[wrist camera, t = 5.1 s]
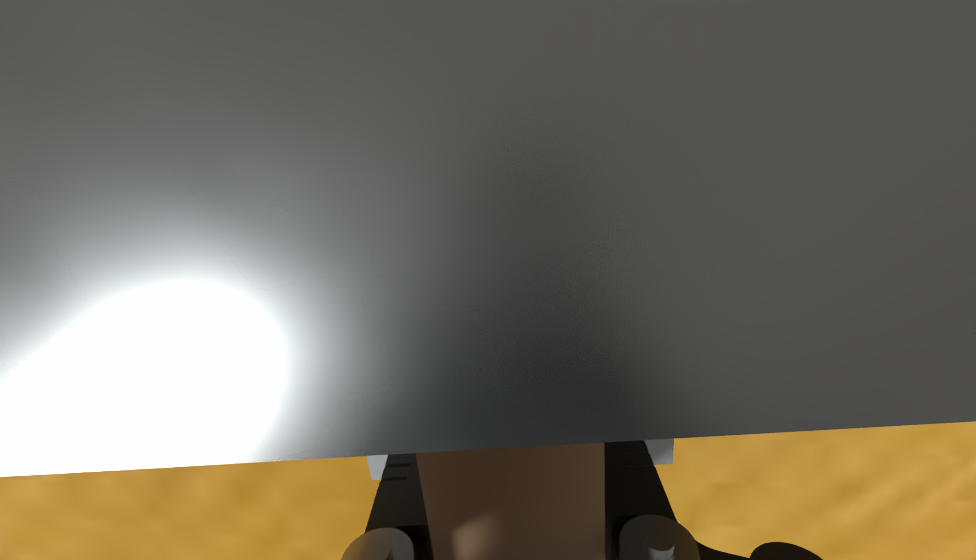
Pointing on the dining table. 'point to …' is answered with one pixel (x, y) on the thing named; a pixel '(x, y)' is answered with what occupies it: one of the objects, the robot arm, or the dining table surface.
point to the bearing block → (477, 224)
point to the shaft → (516, 502)
